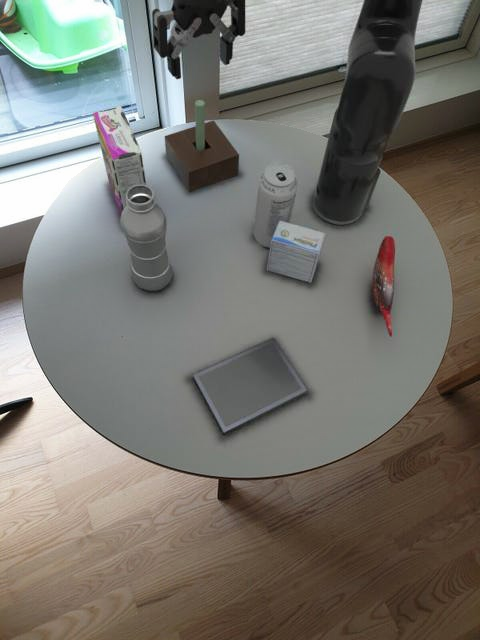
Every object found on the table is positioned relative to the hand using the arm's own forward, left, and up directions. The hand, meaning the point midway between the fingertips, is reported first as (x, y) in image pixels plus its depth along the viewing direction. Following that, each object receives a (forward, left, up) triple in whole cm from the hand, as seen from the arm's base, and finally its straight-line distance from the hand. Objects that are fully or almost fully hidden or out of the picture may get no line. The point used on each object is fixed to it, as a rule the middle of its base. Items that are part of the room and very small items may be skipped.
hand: (200, 68), depth 86 cm
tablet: (+14, +44, -20) cm, 51 cm away
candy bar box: (+16, +3, -21) cm, 26 cm away
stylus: (0, 0, -20) cm, 20 cm away
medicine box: (-3, +28, -21) cm, 35 cm away
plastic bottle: (+19, +20, -21) cm, 35 cm away
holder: (0, 0, -20) cm, 20 cm away
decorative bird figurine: (-11, +41, -21) cm, 48 cm away
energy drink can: (-3, +21, -21) cm, 29 cm away
